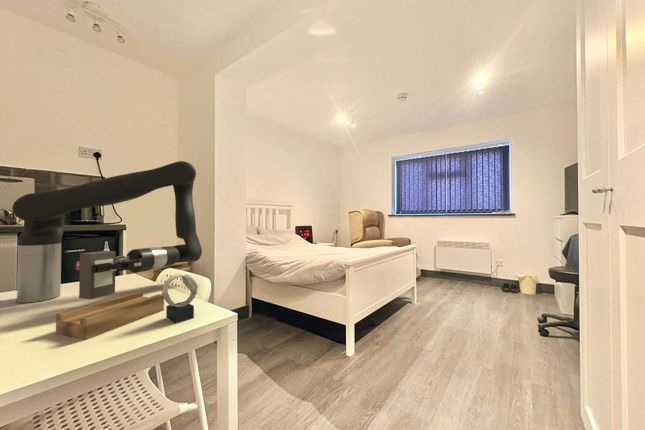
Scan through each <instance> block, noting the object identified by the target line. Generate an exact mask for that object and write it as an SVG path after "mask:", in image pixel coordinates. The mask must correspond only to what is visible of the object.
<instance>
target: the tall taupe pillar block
mask: <svg viewBox="0 0 645 430" xmlns="http://www.w3.org/2000/svg"><path fill="white" fill-rule="evenodd" d="M116 255H117V253H116V251H115V250H114V251H113V250H112V251H111V250H100V251H90V252H83V253H79V265H80V271H79V281H78V283H79V284H78V285H79V288H78V291H79V292H78V293H79V294H78V298H79V299H82V300H83V299H84V300H93V299H94V300H95V299H97V298H102V297H107V296H109V295H114V294H116V270H115V271H110V270H109V271H105V272H99V273H93V272H92V266H93V265H95V264H102V263H109V264H110V262H112V261H115V260H116V257H117V256H116Z"/></svg>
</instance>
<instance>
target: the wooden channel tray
mask: <svg viewBox="0 0 645 430" xmlns="http://www.w3.org/2000/svg"><path fill="white" fill-rule="evenodd" d="M143 293H144V292H143V291H142V292H141V291H136V292H132V293H128V294H124V295H121V296H117V297H113V298H110V299H106V300H102V301H99V302H95V303H91V304H88V305H84V306H80V307H77V308H73V309H70V310H67V311H62V312H59V313H56V315H55V333H56V335H57V334H58V335H63V336H66V337H67V336H68V337H73V338H77V339H82V340H89V339H92V338H95V337H98V336H99V335H103V334H106V333H107V332H110V331H112V330H115V329H118V328H120V327H123V326H126V325H129V324H131V323H134V322H136V321H138V320H139V321H140V320H142V319H144V318H146V317H149V316H152V315H155V314H157V313H159V312H162V311H164V310H165V299H164V298H163V295H162V293H157V294H155V295H150V296H143V295H144V294H143Z"/></svg>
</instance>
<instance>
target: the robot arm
mask: <svg viewBox="0 0 645 430" xmlns="http://www.w3.org/2000/svg"><path fill="white" fill-rule="evenodd" d="M196 176H197V170H196V168H195V166H194V165H193V164H192V163H190V162H188V161H183V160H179V161H175V162H172V163H169V164H166V165H162V166H159V167H156V168H152V169H148V170H143V171H142V170H141V171H136V172H129V173H126V174H119V175H114V176H109V177H105V178H102V179H97V180H94V181H90V182H85V183H83V184H80V185H79V184H78V185H76V186H72V187H66V188H61V189H54V190H49V191H48V190H47V191H41V192H33V193H27V194H24V195H22V196H20V197H19V198H17V199H16V200H15V201H14V203H13V204H12V207H11V210H12V214H14V216H15V217H16V218H18V219H20V220H21V221H23V229H22V231H21V233H20V235H19V236H18V237H17V273H16V274H17V275H16V276H17V277H16V278H17V279H16V280H17V282H16V302H17V303H22V304H23V303H36V302H41V301H47V300H51V299H55V298H57V297H60V296H61V283H62V281H61V277H62V275H61V274H62V238H63V235H64V230H65V217H66V216H65V215H66V214H68V213H71V212H74V211H78V210H83V209H91V208H98V207H103V206H110V205H116V204H121V203H124V202H128V201H132V200H135V199H138V198H141V197H143V196H145V195H147V194H149V193H152V192H154V191H156V190H159V189H163V188H166V187H172V188H173V191H174V199H175V200H174V201H175V212H174V214H175V215H174V216H175V220H174V222H175V233H176V237H177V238H179V239H182V240H183V241H184V242H183V243H184V244H177V245H172V246H171V245H169V246H168V245H167V246H160V247H159V246H158V247H156V246H152V247H143V248H135V249H131V250H129V251H128V253H127V254H126V256H125V255H118V256H116V260H115V261H112V262H110V264H109V263H102V264H95V265H93V266H92V272H93V273H99V272H105V271H109V270H110V271H115V272H122V271H129V272H131V273H133V274H137V273H143V272H147V271H148V272H149V271H153V270H156V269H159V268H164V267H169V266H172V265H175V264H180V263H193V262H198V261H199V260H200V259H201V257H202V253H203V252H202V251H203V248H202V245H201V242H200V239H199V236H198V234H197V225H196V214H195V207H194V202H193V200H194V199H193V190H194V182H195V180H196ZM78 267H79V272H80V264H79V265H78Z"/></svg>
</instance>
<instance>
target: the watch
mask: <svg viewBox="0 0 645 430" xmlns="http://www.w3.org/2000/svg"><path fill="white" fill-rule="evenodd" d="M178 278H181V280H182V283H183V285H185V286H184V287H186V288H187V289H188V290H189V292H190V294H189V296H188V298H187V299H186V300H184V301H181V302H177V303H175V302H174V301H173V300H172V299H171V297H170V294H169V293H168V292H169V291H168V288H169V286H170V284H171V283H172V282H174V280H177V279H178ZM198 289H199V286H198V283H197V281H196V280H195V279H194V278H193V277H192V276H191V275H189V274H188V273H185V274H183V273H177V274H174V275H171V276H170V277H168V278H166V280H165V282H164V283H163V286H162V288H161V290H162V291H161V294H162V295H163V298H164V302H166V303H167V304H168V305H166V310H165V311H166V315H165V316H166V317H165V318H166V319H167V320H169V321H171V322H172V323H174V324H176V325H177V324H179V323H182V322H186V321H189V320H192V319H195V314H194V313H195V310H194V309H195V305H193V304H191V303H192V302H193V301H194V299H195V298H196V296H197V294H198Z"/></svg>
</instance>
